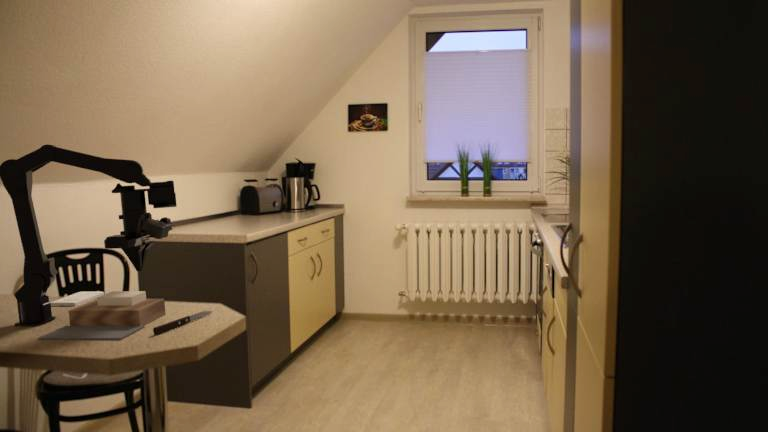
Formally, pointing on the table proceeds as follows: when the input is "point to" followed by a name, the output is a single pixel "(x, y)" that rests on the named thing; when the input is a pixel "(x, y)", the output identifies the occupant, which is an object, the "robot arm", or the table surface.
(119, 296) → the tile
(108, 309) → the brown wooden block
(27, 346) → the table surface
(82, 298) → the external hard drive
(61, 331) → the mat
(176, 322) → the kitchen knife
